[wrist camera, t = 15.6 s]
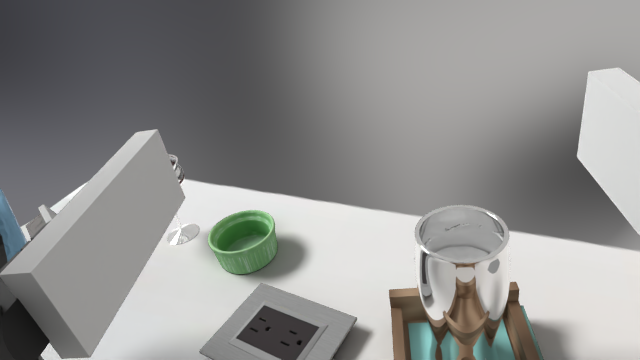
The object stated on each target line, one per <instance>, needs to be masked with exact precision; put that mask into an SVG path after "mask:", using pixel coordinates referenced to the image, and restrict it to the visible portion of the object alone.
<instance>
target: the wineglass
mask: <svg viewBox="0 0 640 360" xmlns="http://www.w3.org/2000/svg"><path fill="white" fill-rule="evenodd" d="M168 156H169V159H170V161H171V164H172V166H173V169H174V171H175V174H176V176H177V178H178V181H179V183H180V186H181V187H182V185H183V183H184V173H183V170H182V168H181V167H180V166H179V165H178V164H177V161H178V159H177V157H175V156H174V155H168ZM174 218H175V220H176V222H177V224H178V227H177V228H175V229H173V230H172V231H171V232H170V233H169V235H168V237H167V241H168V242H169V243H171V244H182V243H185V242H187V241H189V240H191V239H193V238H194V237H195V236H196V235H197V234H198V232H199V227H198V226H197V225H196V224H184V225H181V224H180V221H179V218H178V216H177V213H176V214H175V216H174Z"/></svg>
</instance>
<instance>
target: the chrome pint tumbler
mask: <svg viewBox="0 0 640 360" xmlns="http://www.w3.org/2000/svg"><path fill="white" fill-rule="evenodd" d="M415 274H416V282H417V289H418V293H419V297H420V300H421V304H422V307H423V310H424V313H425V316H426V319H427V321H428V324H429V327H430V331H431V344H430V348H429V355H428V358H429V360H499V356H498V353H497V349H496V335H497V331H498V328H499V325H500V322H501V320H502V316H503V313H504V310H505V307H506V303H507V299H508V294H509V286H510V250H509V231H508V228H507V226H506V224H505V223H504V221H503V220H502V219H501V218H500V217H498V216H497V215H496V214H494V213H492V212H490V211H488V210H486V209H483V208H479V207H475V206H468V205H452V206H445V207H441V208H438V209H436V210H433V211H431V212H429V213H427V214H426V215H425V216H423V217H422V218H421V219H420V220H419V222H418V223H417V225H416V228H415Z"/></svg>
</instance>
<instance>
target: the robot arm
mask: <svg viewBox="0 0 640 360" xmlns="http://www.w3.org/2000/svg"><path fill="white" fill-rule="evenodd" d="M577 157H578V159H579V160H580V161H581V162H582V164H583V165H584V166H585V168H586V169H587V170H588V171H589V173H590V174H591V175H592V176H593V178H594V179H595V180H596V181H597V183H598V184H599V185H600V186H601V188H602V189H603V190H604V191H605V193H606V194H607V195H608V196H609V198H610V199H611V200H612V201H613V203H614V204H615V205H616V206H617V208H618V209H619V210H620V211H621V213H622V214H623V215H624V217H625V218H626V219H627V220H628V222H629V223H630V224H631V225H632V227H633V228H634V229H635V230H636V231H637V233H638V234H639V235H640V82H638V81H637V80H635V79H634V78H633V77H631V76H630V75H628V74H627V73H626V72H624V71H623V70H621V69H620V68H613V69H605V70H597V71H590V72H588V80H587V87H586V95H585V102H584V110H583V116H582V125H581V132H580V139H579V146H578V154H577ZM184 199H185V196H184V193H183V191H182V188H181V186H180V183H179V181H178V178H177V176H176V174H175V171H174V169H173V166H172V164H171V161H170V159H169V156H168V154H167V152H166V149H165V147H164V144H163V142H162V139H161V137H160V134H159V132H158V130H149V131H142V132H136V133H135V134H134V135H133V136H132V137H131V138H130V139H129V140H128V141H127V143H125V144H124V146H123V147H122V148H121V149H120V150H119V151H118V152H117V153H116V154H115V155H114V156H113V157H112V158H111V159H110V160H109V161H108V162H107V163H106V164H105V165H104V166H103V167H102V168H101V169H100V170H99V172H98V173H97V174H96V175H95V176H94V177H93V178H92V179H91V180H90V181H89V182H88V183H87V184H86V185H85V186H84V187H83V188H82V189H81V190H80V191H79V192H78V193H77V194H76V195H75V196H74V197H73V198H72V199H71V200H70V201H69V203H68V204H67V205H66V206H65V207H64V208H63V209H62V210H61V211H60V212H59V213H58V214H57V215H56V216H55V217H54V218H53V219H52V220H51V221H49V222H48V223H46V224H45V225H43V226H42V227H41V228H40V229H39V230H38V231H37V233H36V234H35V235H34V236H33V237H32V238H31V241H28V242H27V241H26V238H25V236H24V234H23V232H22V230H21V228H20V226H19V224H18V222H17V220H16V218H15V216H14V214H13V212H12V210H11V208H10V205H9V203H8V201H7V199H6V197H5V195H4V193H3V192H2V190H1V189H0V360H44V359H43V358H42V357H41V353H42V352H43V351H44V349H45V348H46V346H47V345H48V343H50V344H51V345H52V347H53V348H54V349H55V350H56V352H57V353H58V354H59V356H60V357H61V358H62V359H66V358H90V357H91V355H92V354H93V352H94V350H95V349H96V347H97V345H98V344H99V342H100V340H101V339H102V337H103V335H104V333H105V332H106V330H107V328H108V327H109V325H110V323H111V322H112V320H113V318H114V317H115V315H116V313H117V312H118V310H119V308H120V307H121V305H122V303H123V302H124V300H125V298H126V297H127V295H128V293H129V292H130V290H131V288H132V287H133V285H134V283H135V281H136V280H137V278H138V276H139V275H140V273H141V271H142V270H143V268H144V266H145V265H146V263H147V261H148V260H149V258H150V256H151V255H152V253H153V251H154V250H155V248H156V246H157V245H158V243H159V241H160V240H161V238H162V236H163V235H164V233H165V231H166V229H167V228H168V226H169V224H170V223H171V221H172V219H173V218H174V216H175V214H176V213H177V211H178V209H179V208H180V206H181V204H182V203H183V201H184Z"/></svg>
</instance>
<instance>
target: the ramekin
mask: <svg viewBox="0 0 640 360" xmlns="http://www.w3.org/2000/svg"><path fill="white" fill-rule="evenodd" d="M208 244H209V246H210V248H211V249H212V250H213V251H214V253H215V255H216V257H217V258H218V260H219V262H220V264H221V266H222V267H223V268H224V269H225V270H226V271H228V272H231V273H234V274H247V273H251V272H254V271H257V270H259V269H261V268H263V267H264V266H266V265H267V264H268V263H269V262H270V261H271V260H272V259H273V258H274V257H275V255H276V252H277V248H278V246H277V240H276V235H275V223H274V220H273V218H272V217H271V215H269V214H268V213H266V212H263V211H259V210H247V211H241V212H238V213H235V214H232V215H230V216H228V217H226V218H224V219H222V220H221V221H220V222H218V223H217V224H216V225H215V226H214V227H213V228H212V230H211V231H210V233H209V236H208Z"/></svg>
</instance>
